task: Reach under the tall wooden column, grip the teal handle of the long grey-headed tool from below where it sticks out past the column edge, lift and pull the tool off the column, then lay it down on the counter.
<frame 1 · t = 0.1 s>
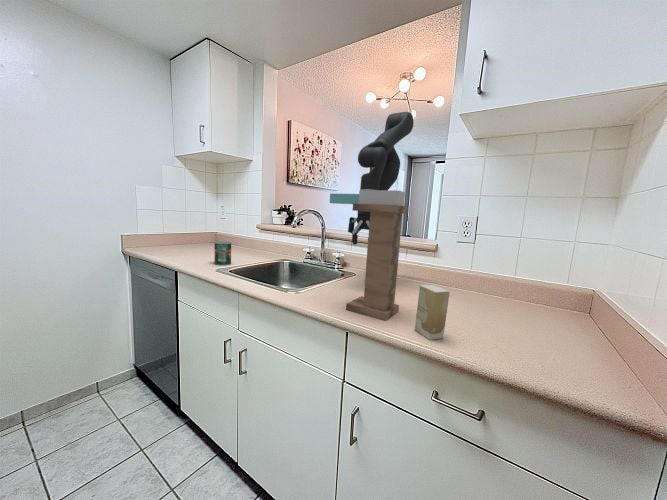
hand: (364, 245, 106), 17 cm above the worktop, tool pointing down, fingers open, 8 cm apart
tool: (362, 204, 84), point 32 cm above the worktop, touching tall wooden column
skincare box: (428, 335, 70), on the worktop
tall wooden column: (372, 310, 85), on the worktop
canned tomato: (222, 264, 140), on the worktop
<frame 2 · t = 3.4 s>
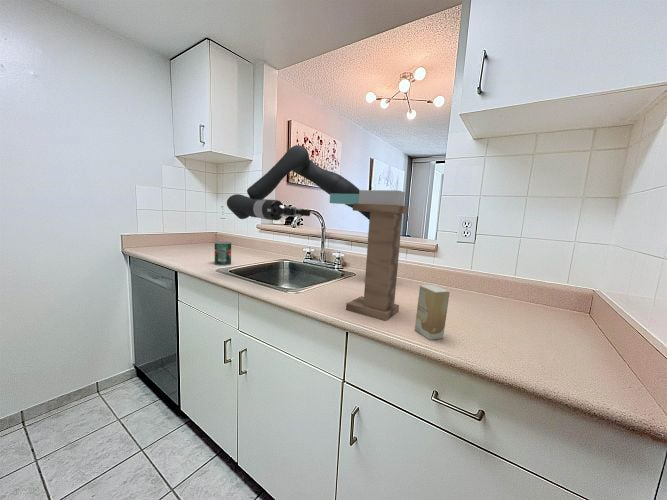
hand: (302, 212, 97), 28 cm above the worktop, tool horizontal, fingers open, 8 cm apart
nothing on the worktop moved.
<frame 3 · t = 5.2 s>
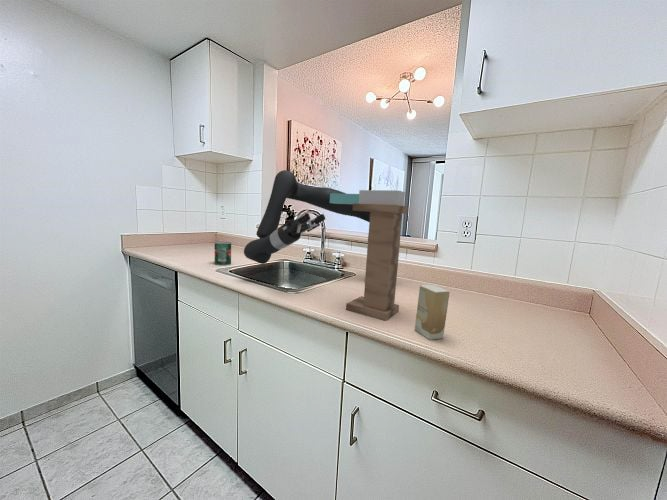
hand: (316, 216, 94), 28 cm above the worktop, tool pointing upward, fingers open, 8 cm apart
nothing on the worktop moved.
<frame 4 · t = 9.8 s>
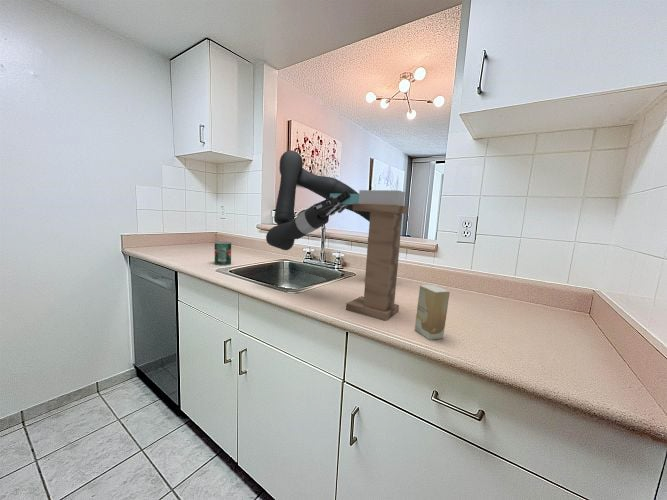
hand: (351, 194, 86), 35 cm above the worktop, tool pointing upward, fingers closed on tool, 3 cm apart
tool: (362, 204, 84), point 32 cm above the worktop, touching gripper, tall wooden column
everything else where it was.
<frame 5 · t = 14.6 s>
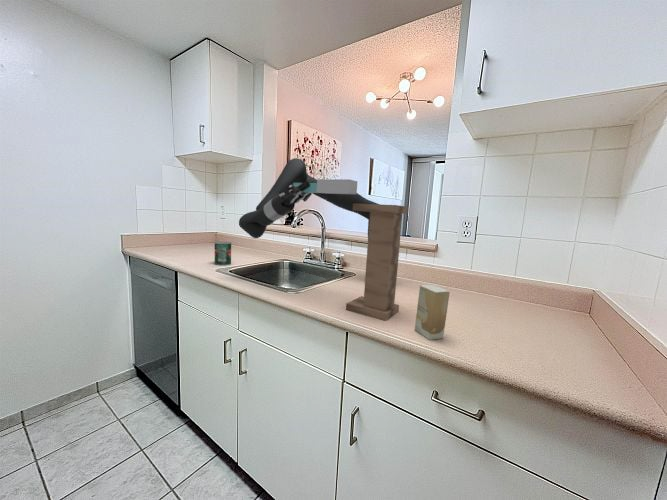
hand: (311, 183, 93), 38 cm above the worktop, tool pointing upward, fingers closed on tool, 3 cm apart
tool: (321, 192, 92), point 35 cm above the worktop, touching gripper
everything else where it was.
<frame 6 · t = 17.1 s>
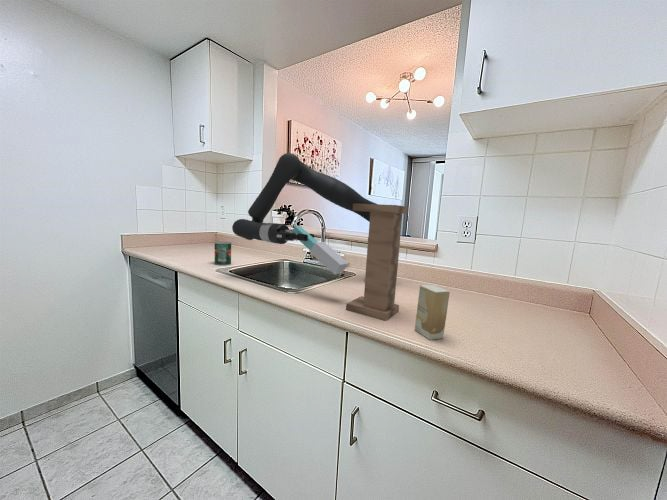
hand: (310, 237, 96), 20 cm above the worktop, tool horizontal, fingers closed on tool, 3 cm apart
tool: (314, 251, 95), point 15 cm above the worktop, tilted 30°, touching gripper
everything else where it was.
when the fingers open (12 cm above the worktop, at t = 19.4 s): tool drops 7 cm, on the worktop.
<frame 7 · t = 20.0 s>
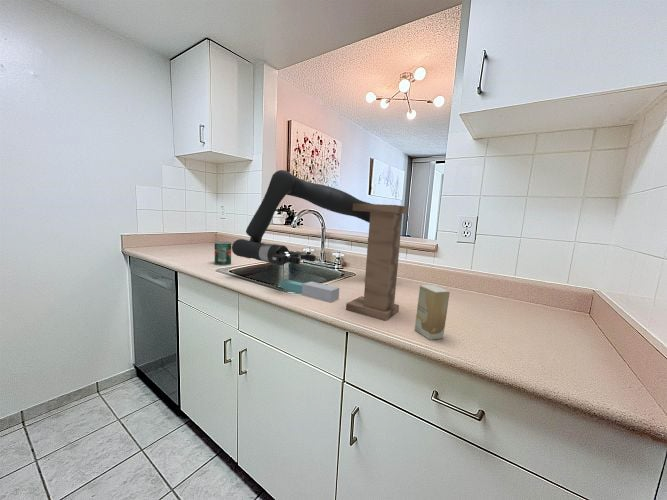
hand: (307, 260, 97), 12 cm above the worktop, tool horizontal, fingers open, 8 cm apart
tool: (306, 293, 99), on the worktop
everything else where it was.
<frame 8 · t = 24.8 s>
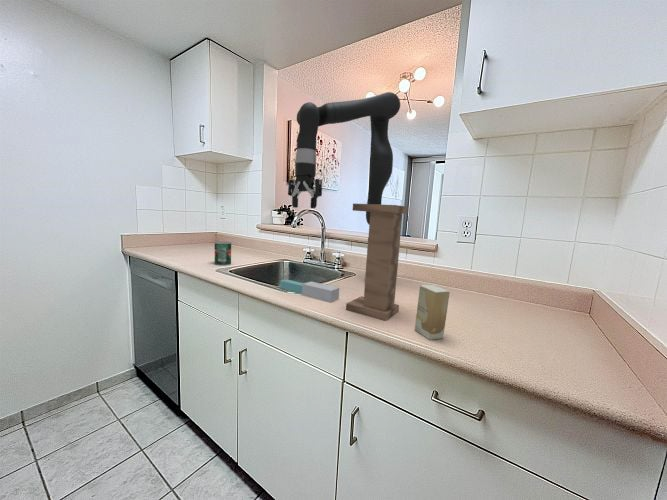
hand: (303, 207, 104), 30 cm above the worktop, tool pointing down, fingers open, 8 cm apart
nothing on the worktop moved.
at the end: tool inside the target area (0.3 cm from its centre), on the worktop; tool touching worktop; the gripper is holding nothing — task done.
